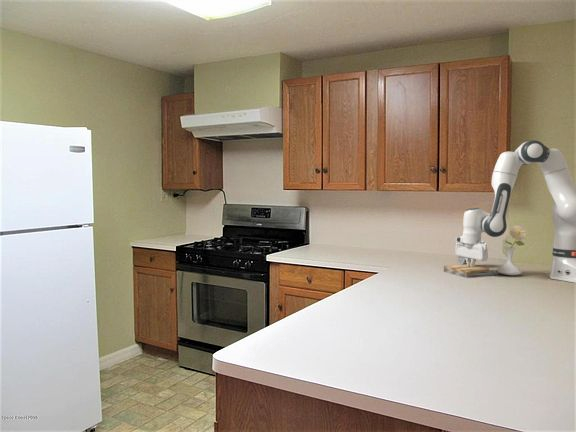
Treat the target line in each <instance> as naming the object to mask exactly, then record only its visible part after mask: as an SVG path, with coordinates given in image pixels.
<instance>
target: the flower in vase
mask: <svg viewBox="0 0 576 432" xmlns="http://www.w3.org/2000/svg"><path fill="white" fill-rule="evenodd" d="M509 232H510V233H509V235H510V237H511V238H512V239H514V240H515V241H514V243H513V244H512V242H509V241H508V240H506V239H505V242H506V244H507V245H511V246H504V249H505V251H506V254H507V255H506V256H507V258H506V261H505V263H503V264H502V265H501V266H499V267H498V268H497V269H496V272H498V274H500V275H501V274H502V275H505V276H519V275H521V274H522V273H523V271H522V270H521V269H520V267H518V266H517V265H516V264H515V263H514V262H513V256H514V255H513V254H514V251H515V250H516V247H513V246H514V245H515V244H516V245H517V246H525V243H524V242H523V241H522V240H525V239H527V238H526V237H527V236H528V231H527V230H526V229H525V227H524V226H521V225H515V226H512V227H511V228H510V231H509Z"/></svg>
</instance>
